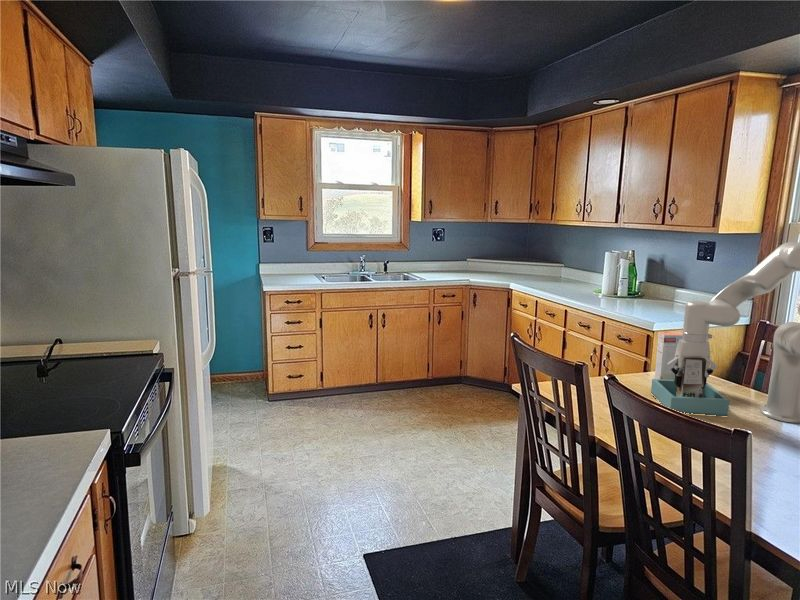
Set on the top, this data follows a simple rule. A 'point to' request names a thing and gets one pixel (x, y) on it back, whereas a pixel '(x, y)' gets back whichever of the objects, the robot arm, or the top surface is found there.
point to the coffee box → (692, 378)
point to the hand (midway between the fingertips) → (689, 386)
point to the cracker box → (666, 354)
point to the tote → (690, 399)
